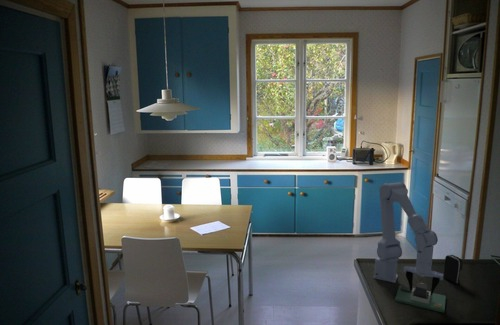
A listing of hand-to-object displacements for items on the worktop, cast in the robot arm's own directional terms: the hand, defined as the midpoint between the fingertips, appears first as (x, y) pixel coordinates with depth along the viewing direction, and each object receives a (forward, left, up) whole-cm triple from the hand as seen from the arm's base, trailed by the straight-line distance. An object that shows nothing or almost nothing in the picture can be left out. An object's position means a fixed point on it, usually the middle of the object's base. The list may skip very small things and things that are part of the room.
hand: (421, 291), depth 160 cm
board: (0, 0, -3) cm, 3 cm away
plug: (0, 0, -2) cm, 2 cm away
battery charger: (+11, +24, -4) cm, 27 cm away
